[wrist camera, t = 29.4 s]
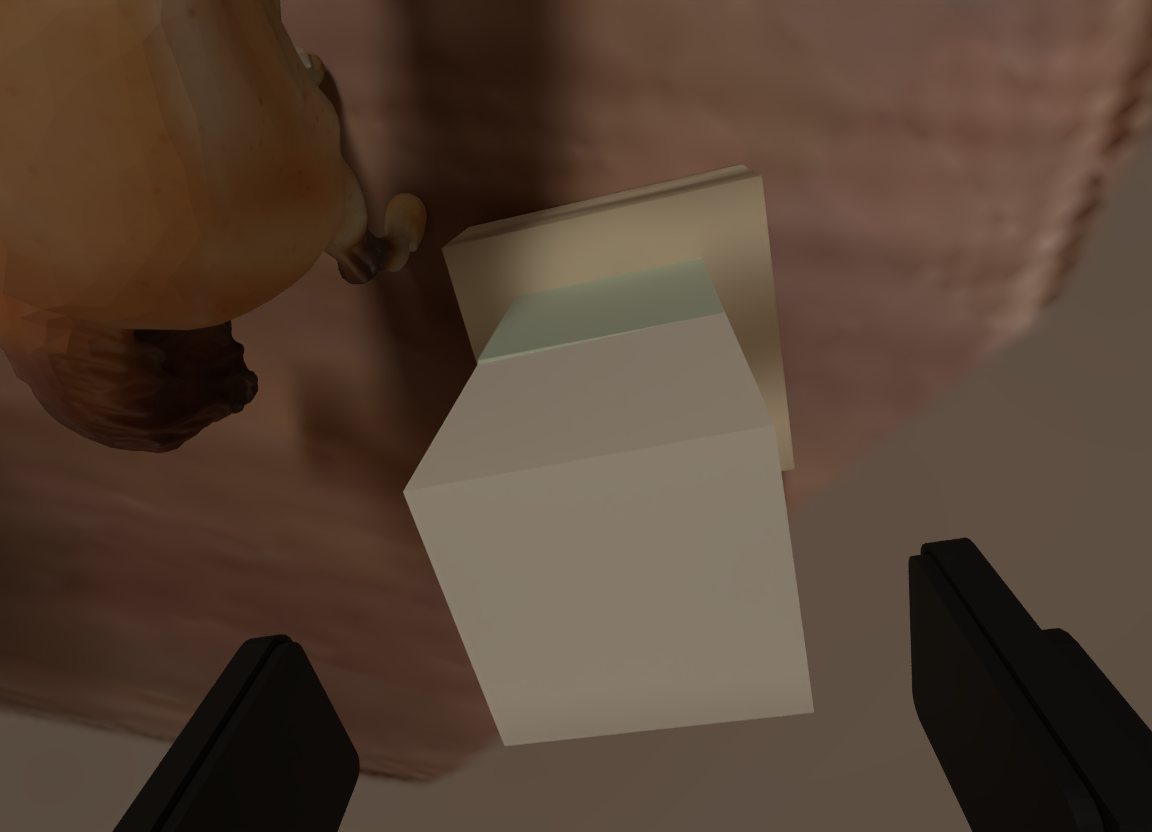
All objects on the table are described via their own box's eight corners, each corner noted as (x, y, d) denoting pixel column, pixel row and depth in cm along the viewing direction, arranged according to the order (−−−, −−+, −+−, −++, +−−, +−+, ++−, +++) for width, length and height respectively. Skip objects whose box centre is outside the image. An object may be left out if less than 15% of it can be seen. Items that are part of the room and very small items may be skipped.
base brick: (468, 226, 25) (441, 248, 21) (741, 164, 23) (761, 175, 20) (535, 460, 29) (521, 511, 25) (773, 420, 27) (794, 469, 24)
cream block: (478, 363, 17) (403, 491, 11) (724, 311, 16) (774, 425, 10) (541, 561, 19) (504, 746, 13) (759, 527, 18) (814, 712, 12)
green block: (515, 296, 22) (477, 360, 16) (701, 257, 21) (725, 312, 16) (558, 456, 24) (537, 559, 19) (727, 428, 23) (755, 528, 18)
